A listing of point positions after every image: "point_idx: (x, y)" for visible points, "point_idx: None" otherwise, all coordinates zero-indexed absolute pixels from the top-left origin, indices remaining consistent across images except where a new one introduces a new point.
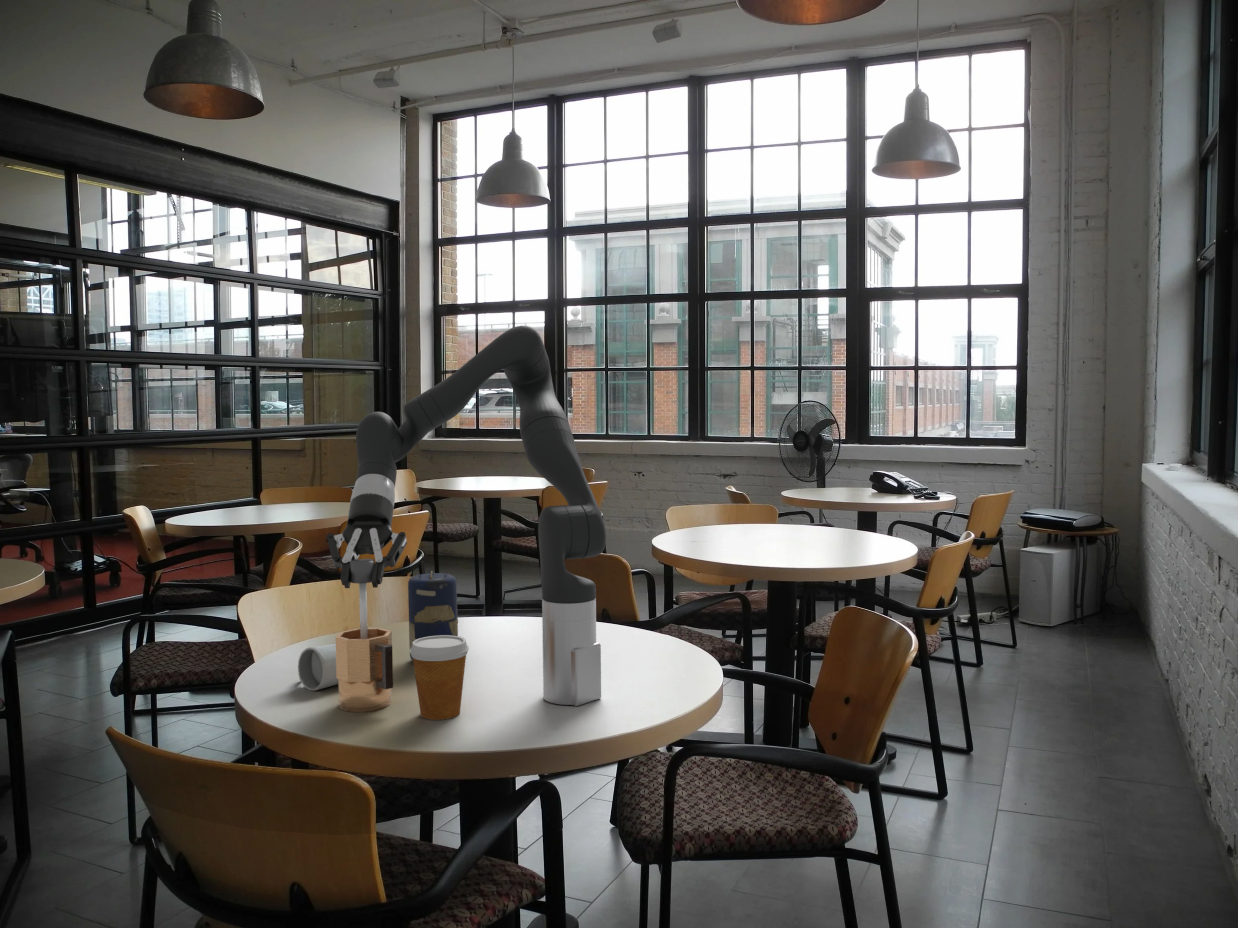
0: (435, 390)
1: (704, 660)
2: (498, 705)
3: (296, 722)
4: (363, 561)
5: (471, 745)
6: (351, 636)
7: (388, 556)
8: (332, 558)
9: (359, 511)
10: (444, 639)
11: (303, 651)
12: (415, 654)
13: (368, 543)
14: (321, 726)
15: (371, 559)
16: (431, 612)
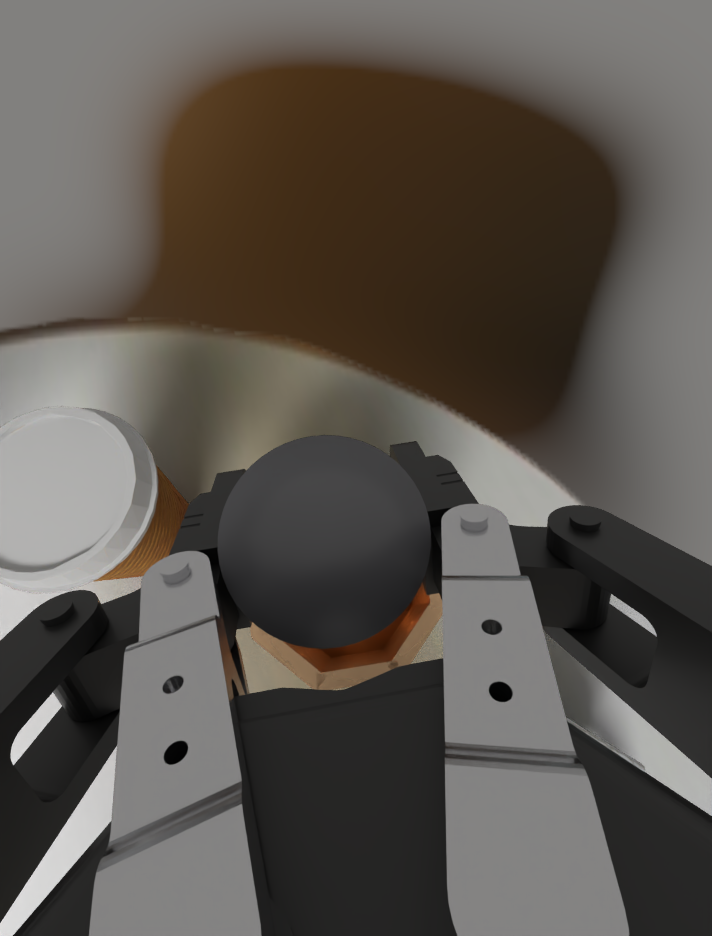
0: None
1: None
2: (20, 604)
3: (450, 454)
4: (297, 487)
5: (69, 359)
6: (410, 628)
7: (79, 609)
8: (601, 514)
9: None
10: (36, 547)
11: (635, 760)
12: (128, 425)
13: (295, 736)
14: (386, 435)
15: (261, 609)
16: None
